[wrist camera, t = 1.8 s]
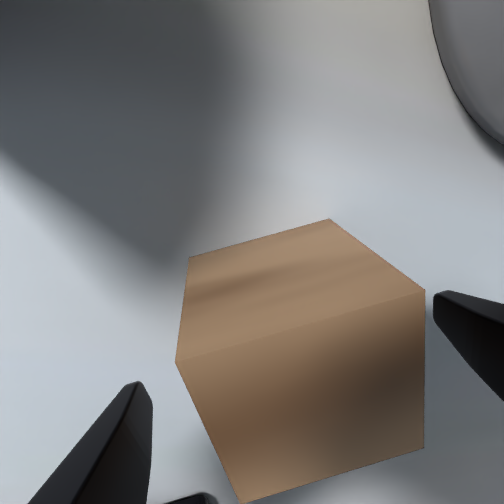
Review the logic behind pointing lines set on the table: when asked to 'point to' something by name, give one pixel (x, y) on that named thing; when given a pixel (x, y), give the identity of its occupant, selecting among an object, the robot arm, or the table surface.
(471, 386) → the table surface
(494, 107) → the slate plate
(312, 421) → the walnut cube
